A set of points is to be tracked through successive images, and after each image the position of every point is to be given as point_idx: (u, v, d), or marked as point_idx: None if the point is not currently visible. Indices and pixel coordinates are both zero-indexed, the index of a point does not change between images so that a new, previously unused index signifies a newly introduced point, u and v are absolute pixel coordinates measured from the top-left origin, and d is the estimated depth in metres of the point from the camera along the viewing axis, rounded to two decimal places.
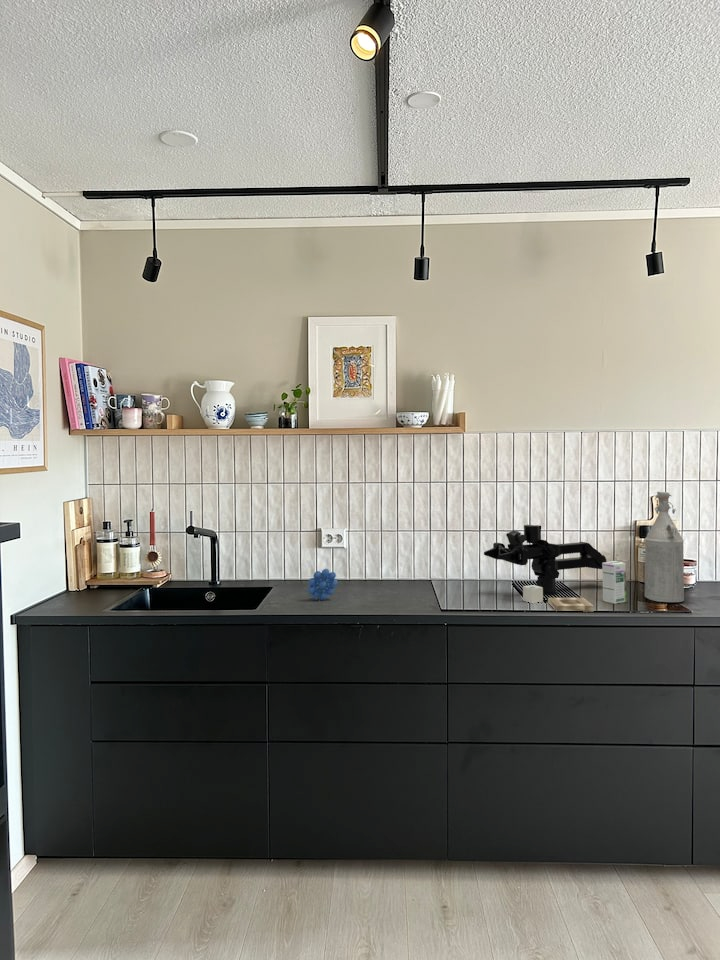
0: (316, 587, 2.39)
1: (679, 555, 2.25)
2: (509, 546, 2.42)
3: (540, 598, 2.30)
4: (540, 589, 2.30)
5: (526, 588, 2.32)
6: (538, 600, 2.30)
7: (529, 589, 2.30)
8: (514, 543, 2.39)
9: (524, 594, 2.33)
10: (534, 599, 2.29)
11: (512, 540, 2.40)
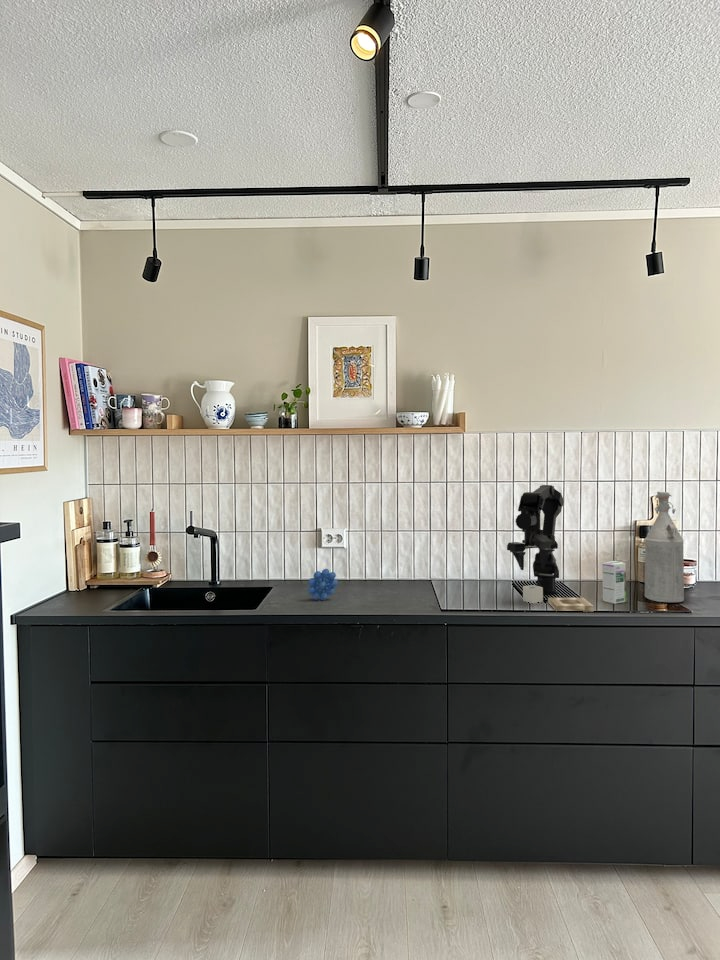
0: (316, 587, 2.39)
1: (679, 555, 2.25)
2: None
3: (540, 598, 2.30)
4: (540, 589, 2.30)
5: (526, 588, 2.32)
6: (538, 600, 2.30)
7: (529, 589, 2.30)
8: None
9: (524, 594, 2.33)
10: (534, 599, 2.29)
11: None
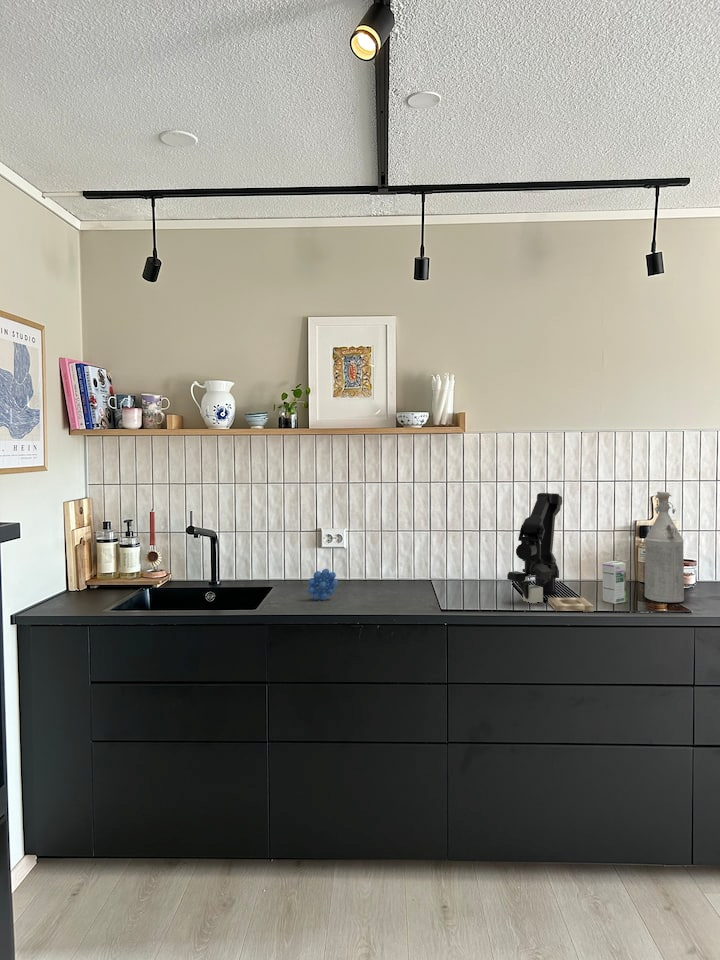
0: (316, 587, 2.39)
1: (679, 555, 2.25)
2: (533, 573, 2.29)
3: (540, 597, 2.30)
4: (540, 589, 2.30)
5: None
6: (538, 600, 2.30)
7: (529, 589, 2.30)
8: None
9: None
10: (534, 599, 2.29)
11: None
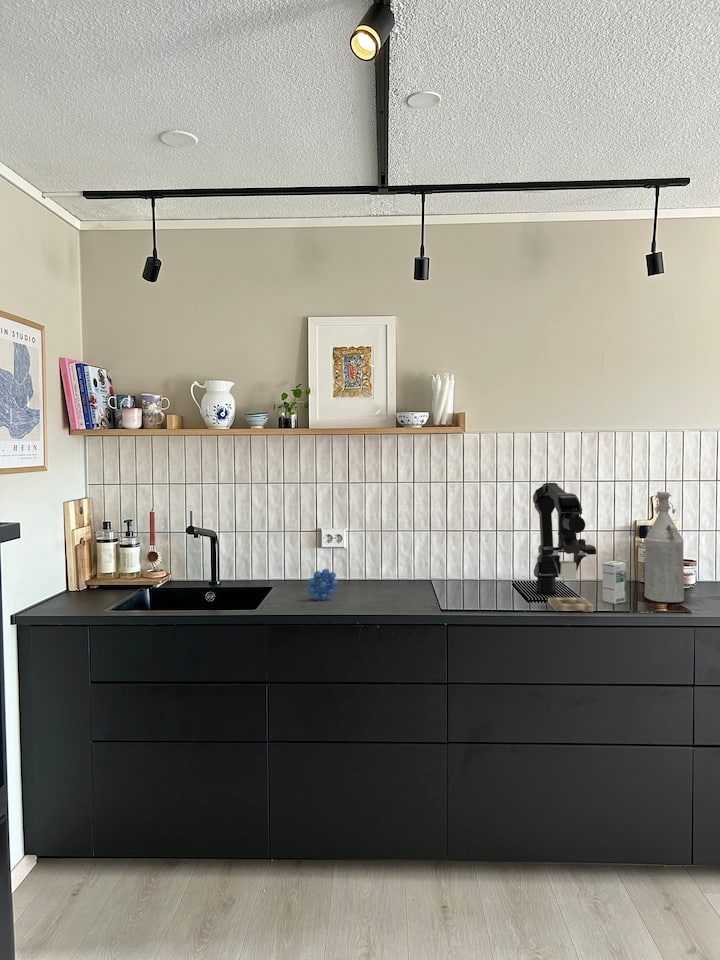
0: (316, 587, 2.39)
1: (679, 555, 2.25)
2: None
3: (572, 574, 2.20)
4: (573, 565, 2.20)
5: None
6: (570, 576, 2.20)
7: (560, 564, 2.21)
8: None
9: None
10: (565, 575, 2.20)
11: None
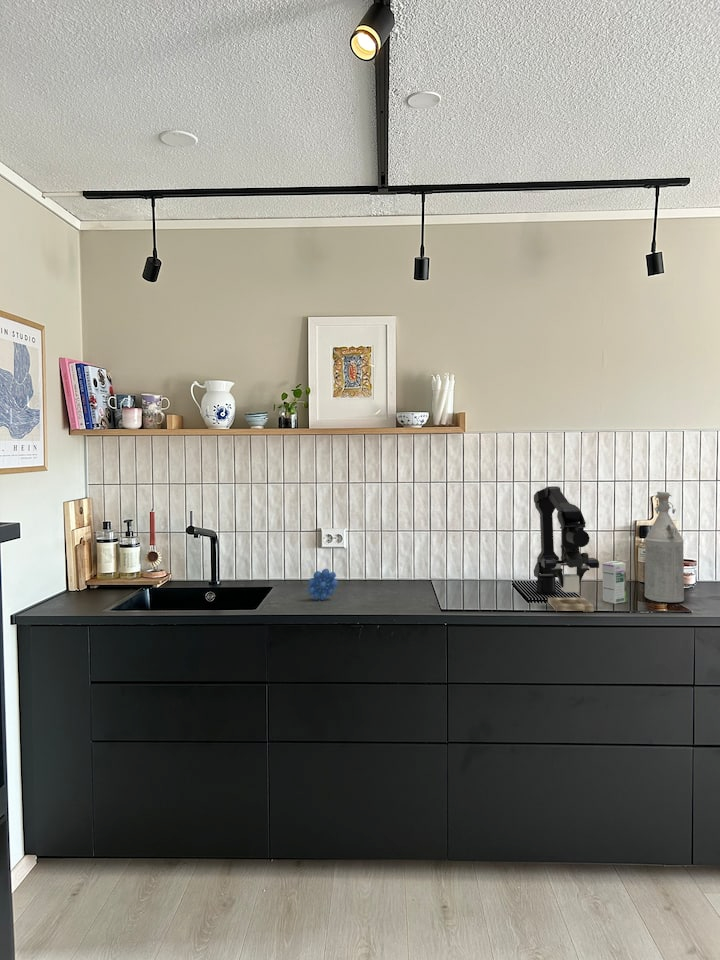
0: (316, 587, 2.39)
1: (679, 555, 2.25)
2: None
3: (575, 587, 2.20)
4: (576, 578, 2.20)
5: None
6: (573, 589, 2.20)
7: (563, 577, 2.21)
8: None
9: None
10: (568, 588, 2.20)
11: None
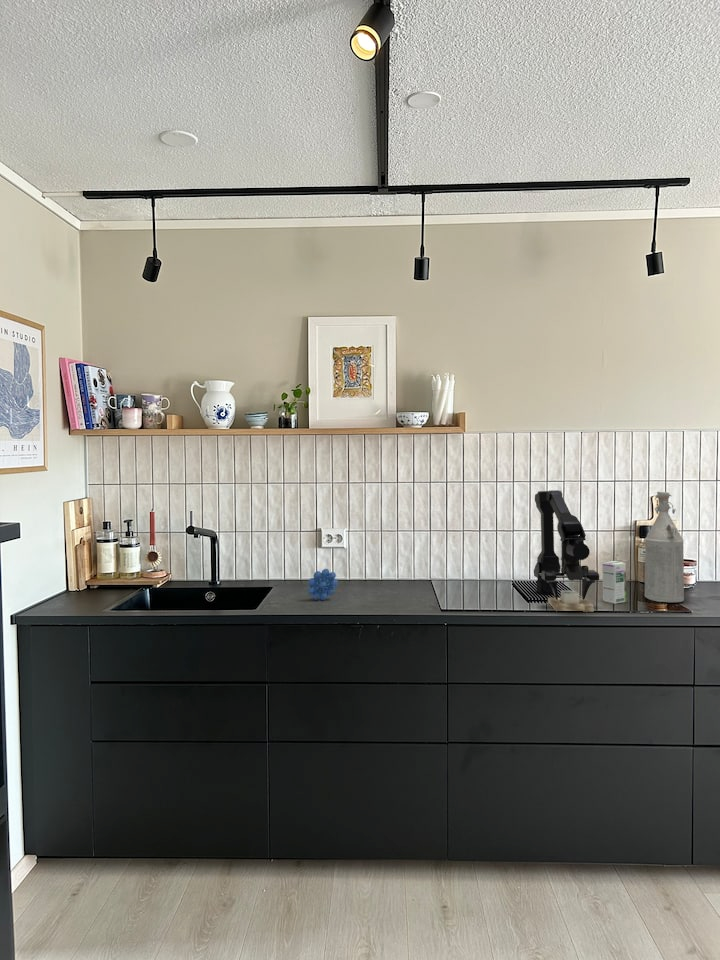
0: (316, 587, 2.39)
1: (679, 555, 2.25)
2: None
3: None
4: (576, 595, 2.20)
5: (562, 593, 2.23)
6: None
7: (563, 594, 2.21)
8: None
9: (561, 599, 2.24)
10: None
11: None
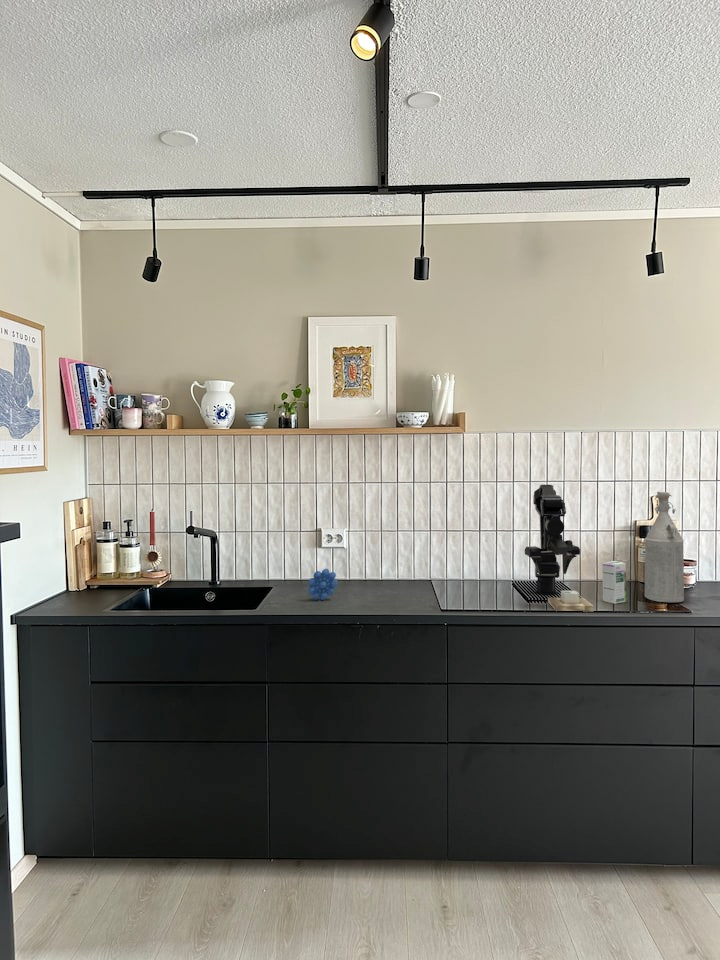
0: (316, 587, 2.39)
1: (679, 555, 2.25)
2: (550, 549, 2.24)
3: None
4: (576, 595, 2.20)
5: (562, 593, 2.23)
6: None
7: (563, 594, 2.21)
8: None
9: (561, 599, 2.24)
10: None
11: None
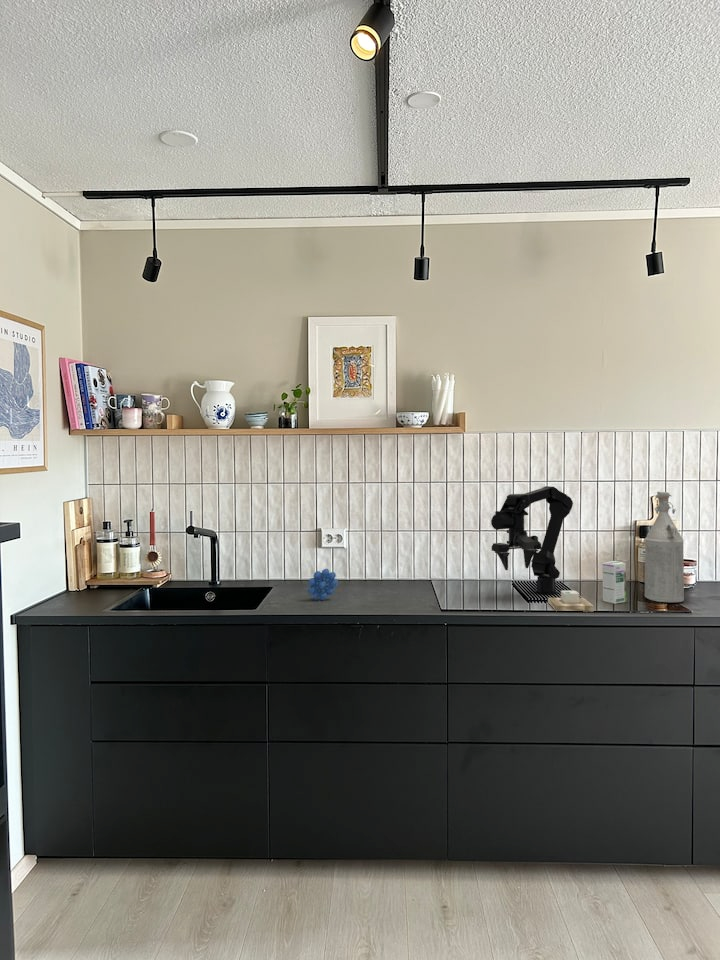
0: (316, 587, 2.39)
1: (679, 555, 2.25)
2: (516, 545, 2.34)
3: None
4: (576, 595, 2.20)
5: (562, 593, 2.23)
6: None
7: (563, 594, 2.21)
8: None
9: (561, 599, 2.24)
10: None
11: None
